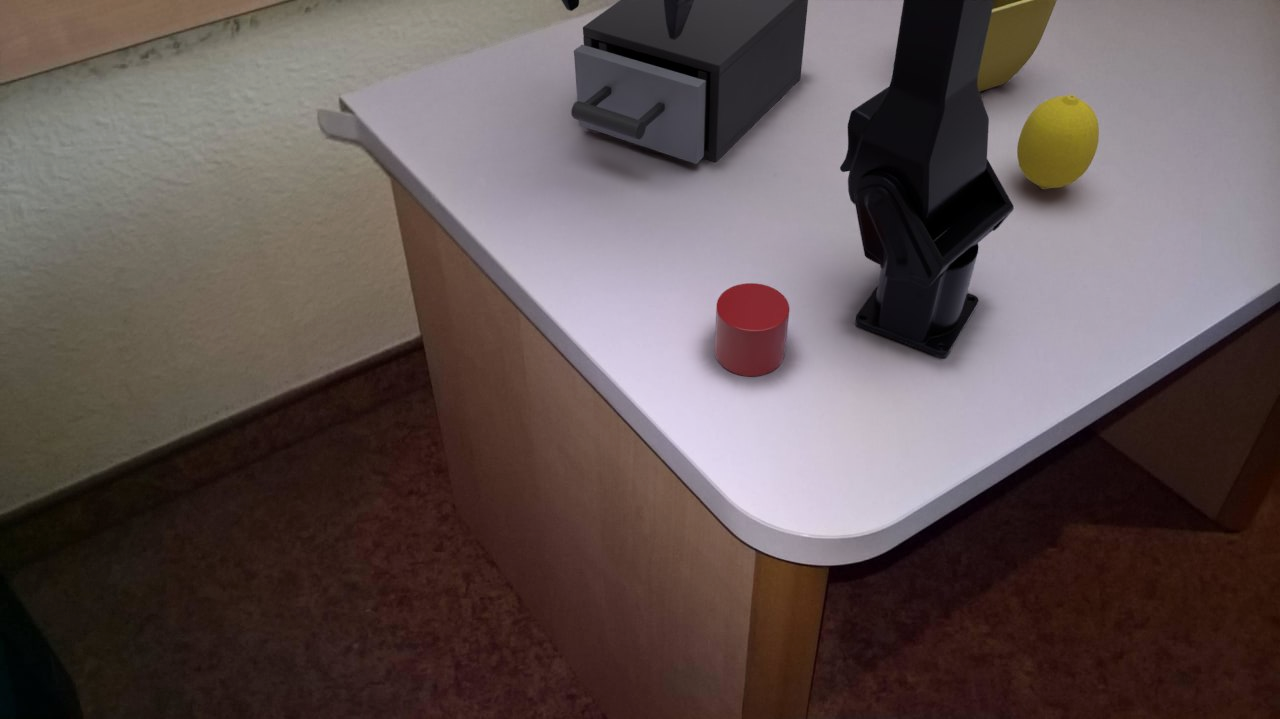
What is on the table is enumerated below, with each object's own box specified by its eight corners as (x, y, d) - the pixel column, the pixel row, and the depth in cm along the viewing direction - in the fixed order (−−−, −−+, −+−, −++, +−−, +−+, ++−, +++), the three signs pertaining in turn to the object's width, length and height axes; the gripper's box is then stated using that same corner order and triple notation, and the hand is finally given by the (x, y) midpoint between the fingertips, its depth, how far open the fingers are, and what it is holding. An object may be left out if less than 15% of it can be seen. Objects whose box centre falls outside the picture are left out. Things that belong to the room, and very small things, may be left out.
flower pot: (894, 70, 93) (910, -27, 87) (970, 47, 96) (991, -49, 90) (958, 114, 88) (980, 15, 81) (1036, 88, 90) (1063, -10, 84)
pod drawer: (667, 192, 79) (666, 114, 74) (547, 151, 83) (539, 75, 79) (778, 84, 90) (785, 10, 86) (668, 52, 95) (668, -19, 90)
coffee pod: (764, 386, 65) (768, 340, 62) (701, 360, 67) (703, 314, 64) (796, 343, 68) (801, 298, 65) (735, 319, 70) (738, 274, 67)
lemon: (995, 193, 80) (1020, 101, 74) (1023, 160, 83) (1049, 69, 77) (1065, 217, 77) (1096, 124, 72) (1091, 183, 80) (1123, 91, 75)
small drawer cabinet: (716, 162, 83) (719, 65, 77) (588, 120, 88) (582, 26, 82) (800, 78, 93) (809, -14, 87) (680, 45, 98) (681, -45, 92)
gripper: (806, -225, 66) (786, 8, 77) (568, -261, 73) (581, -44, 84) (721, -174, 59) (713, 72, 70) (468, -220, 66) (497, 10, 77)
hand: (623, 22), depth 75 cm, fingers open, 9 cm apart
